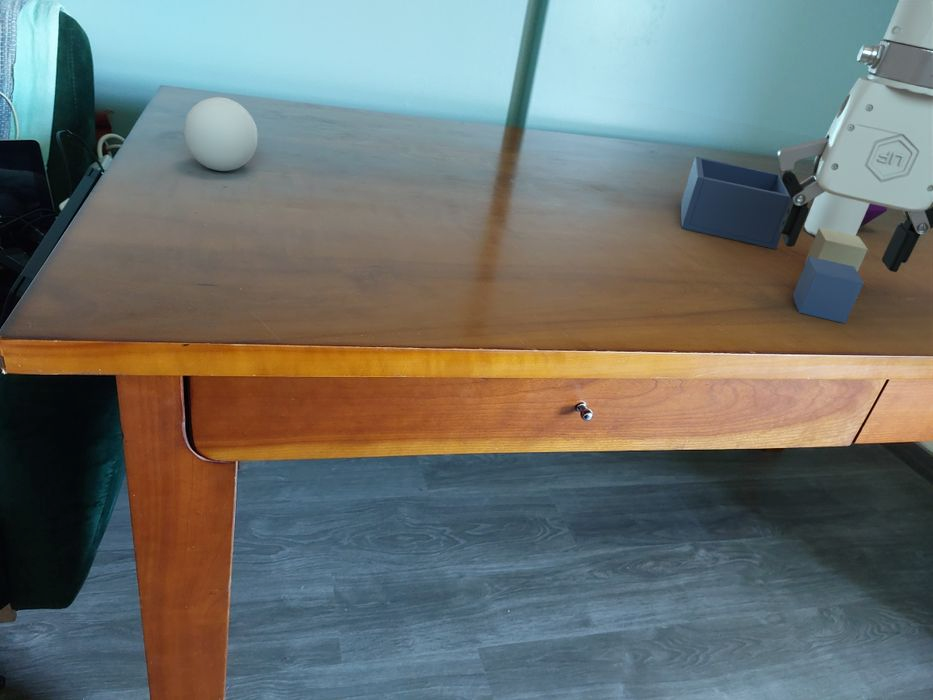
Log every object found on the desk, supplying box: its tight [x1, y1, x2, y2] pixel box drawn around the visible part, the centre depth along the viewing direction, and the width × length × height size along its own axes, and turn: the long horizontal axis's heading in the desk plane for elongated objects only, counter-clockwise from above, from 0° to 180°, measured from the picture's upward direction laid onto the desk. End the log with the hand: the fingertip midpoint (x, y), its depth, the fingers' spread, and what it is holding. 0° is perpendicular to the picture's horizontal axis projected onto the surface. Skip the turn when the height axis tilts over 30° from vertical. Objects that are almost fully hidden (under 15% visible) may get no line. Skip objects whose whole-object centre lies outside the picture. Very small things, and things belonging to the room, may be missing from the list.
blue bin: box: [680, 156, 791, 250], centre depth 94 cm, size 12×12×7 cm
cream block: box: [804, 228, 869, 273], centre depth 83 cm, size 4×4×4 cm
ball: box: [182, 96, 259, 172], centre depth 82 cm, size 8×8×8 cm
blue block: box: [792, 257, 864, 324], centre depth 73 cm, size 4×4×4 cm
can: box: [803, 191, 870, 237], centre depth 96 cm, size 6×6×12 cm
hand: (837, 254), depth 71 cm, fingers open, 9 cm apart
